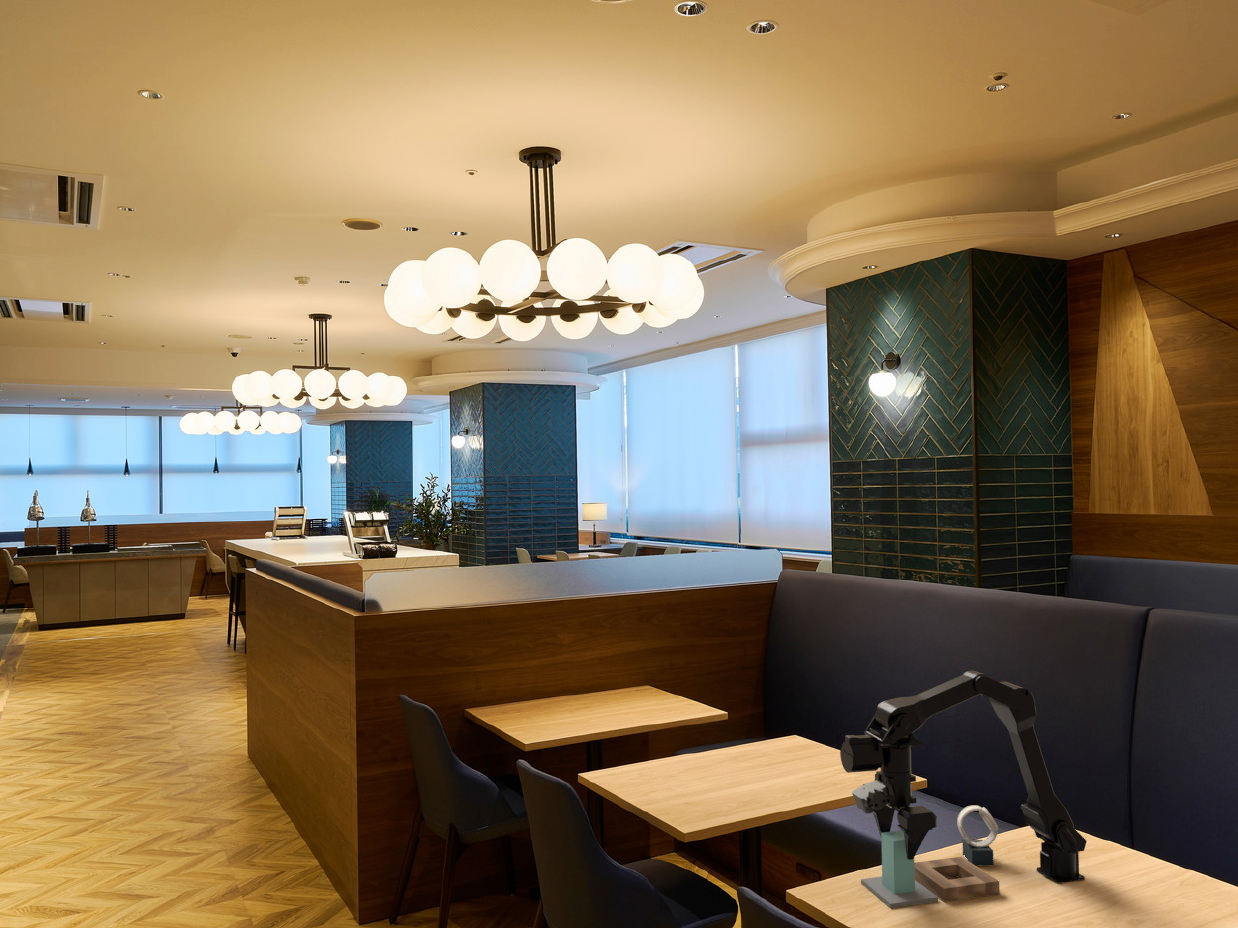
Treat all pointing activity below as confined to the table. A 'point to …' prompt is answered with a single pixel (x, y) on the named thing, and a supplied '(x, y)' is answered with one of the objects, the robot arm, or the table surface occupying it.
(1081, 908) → the table surface
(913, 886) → the peg
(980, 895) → the pocket
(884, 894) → the pad
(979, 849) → the watch
